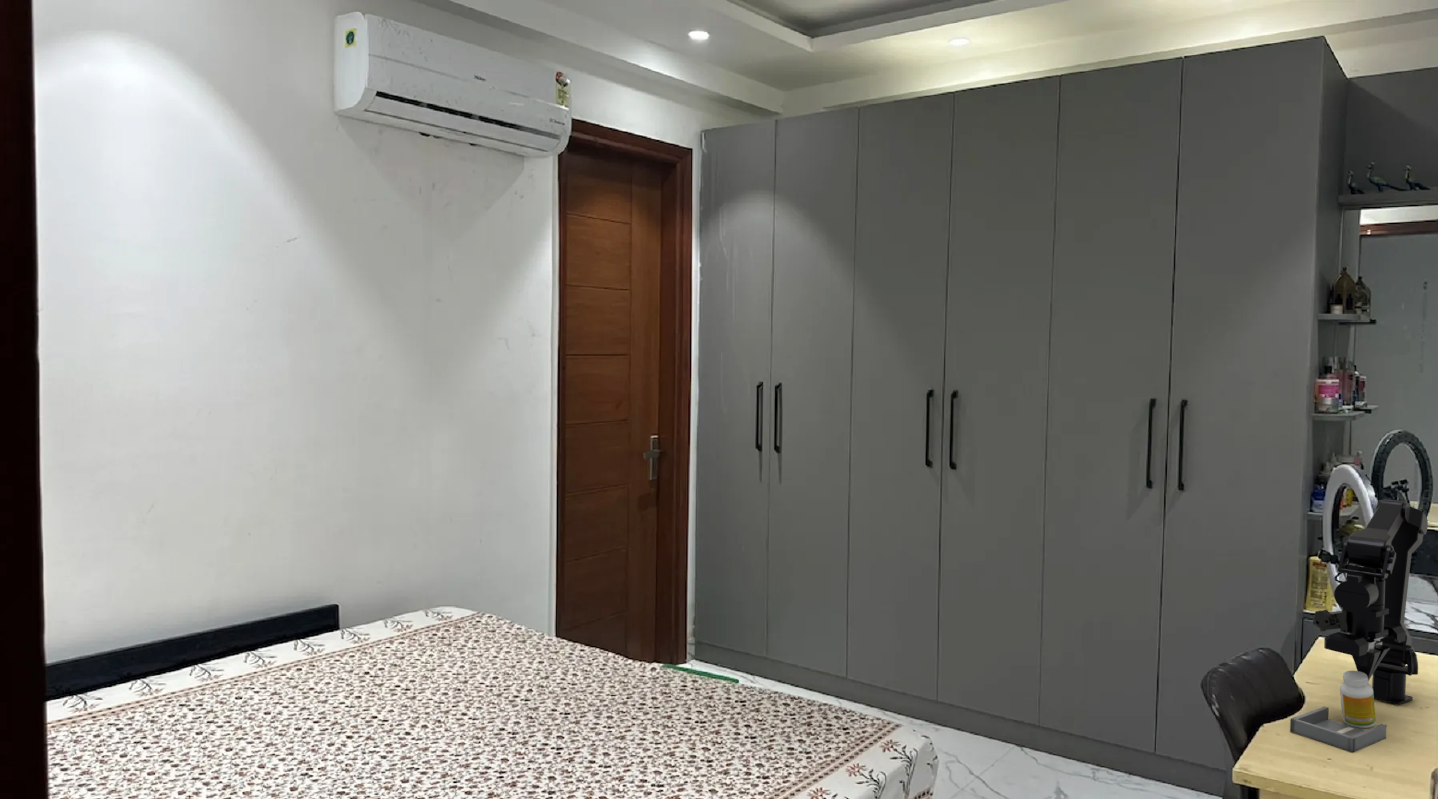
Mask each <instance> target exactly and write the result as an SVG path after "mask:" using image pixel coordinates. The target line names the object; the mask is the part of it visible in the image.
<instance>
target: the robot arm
mask: <svg viewBox="0 0 1438 799" xmlns="http://www.w3.org/2000/svg"><path fill="white" fill-rule="evenodd" d="M1428 522H1429V521H1428V517H1427V516H1426V514H1425V512H1424V511H1422V510H1420V509H1418V508H1416V507H1413V506H1411V505H1410V503H1409V502H1406V501H1405V500H1404V501H1403V500H1395V499H1384V498H1383V499H1379V500H1378V501H1377V505H1376V506H1375V510H1374V512H1373V515H1372V516H1371V518H1370V520H1369V521H1368V523H1367V525H1366V527H1364V529H1361V530H1355V531H1353V532H1352V533H1351V535H1350V536H1348V539H1346V540H1344V541H1343V542H1344V543H1343V546H1342V550H1341V554H1340V558H1339V562H1338V568H1337V572H1338V573H1344V574H1346V580H1344V581H1342V582H1341V583H1339V584H1338V585H1337V586H1336V588H1335V590H1334V591H1333V597H1334V600H1335V602H1336V603H1337V605H1338V606H1339V607H1341V610H1337V611H1329V610H1327V609H1323V610H1316V611H1315V612H1314V615H1313V620H1312V624H1313V625H1315V627H1316V628H1318V630H1319V632H1326V631H1329V630H1337V629H1340V631H1337V632H1334V633H1330V634H1328V635H1326V637H1324V640H1323V641H1324V642H1323V643H1324V644H1323V645H1324V646H1323V647H1324V649H1325V650H1328V651H1334V652H1337V653H1340V654H1346V655H1349V656H1351V657H1352V659H1353V662H1354V665H1355V668H1356V671H1360V672H1363V673H1365V674H1366V675H1367V676H1368V682H1369V681H1370V679H1371V677H1372V681H1371V682H1372V683H1371V684H1372V685H1371V687H1372V688H1373V693H1374V700H1379V701H1382V702H1386V703H1389V704H1392V705H1402V704H1405V703H1408V702H1410V701H1412V700H1413V699H1414V697H1413V696H1411V695H1407V694H1406V687H1407V676H1409V677H1411V676H1412V675H1413V676H1414V675H1419V661H1418V655H1417V653H1416V651H1415V648H1414V646H1413V645H1412V641H1413V638H1412V636H1411V634H1410V633H1409V631H1408V629H1407V627H1406V625H1405V616H1406V609H1407V608H1406V607H1407V598H1408V589H1409V580H1410V570H1411V563H1412V562H1411V561H1412V554H1413V553H1414V552H1415V551H1416V550H1417V549H1418V548H1419V547H1420V545H1422V544H1423V540H1424V535H1427V532H1428V527H1429V526H1428V525H1429V524H1428Z"/></svg>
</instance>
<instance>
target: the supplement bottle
mask: <svg viewBox="0 0 1438 799" xmlns="http://www.w3.org/2000/svg"><path fill="white" fill-rule="evenodd" d="M1342 681H1343V682H1342V683H1341V684H1340V686H1339V693H1340V694H1339V695H1340V704H1341V715H1342V720H1343V722H1344V724H1347V725H1350V726H1353V727H1356V728H1360V729H1370V728H1372V727H1375V725H1376V722H1377V720H1376V719H1377V718H1376V707H1375V698H1374V693H1373V688H1372V685H1370V684H1369V681H1368V676H1367V675H1366V674H1365V673H1363V672H1360V671H1357V670H1347V671H1345V672H1343V674H1342Z"/></svg>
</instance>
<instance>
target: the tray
mask: <svg viewBox="0 0 1438 799" xmlns="http://www.w3.org/2000/svg"><path fill="white" fill-rule="evenodd" d="M1289 728H1290V729H1289V732H1290V733H1293V734H1296V735H1299V736H1302V737H1305V738H1308V739H1310V740H1314V741H1317V742H1321V743H1323V744H1326V745H1329V746H1331V747H1335V748H1337V749H1341V750H1344V751H1347V752H1349V753H1354V752H1357V751H1359V750H1362V749H1364V748H1366V747H1369V746H1371V745H1373V744H1376V743H1378V742H1381V741H1383V740H1385V739H1387V724H1385V723H1380V724H1378V725H1376V726H1375V725H1374V726H1372V727H1369V728H1366V729H1364V728H1356V727H1353V726H1350V725H1348V724H1346V723H1345V722H1344V723H1343V722H1339V721H1337V720H1333V719H1330V718H1329V707H1327V706H1321V707H1319V708H1316V709H1314V710H1310V711H1308V712H1305V713H1302V714H1300V715H1299V714H1298V715H1297V716H1294V717H1292V718H1290V725H1289Z"/></svg>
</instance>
